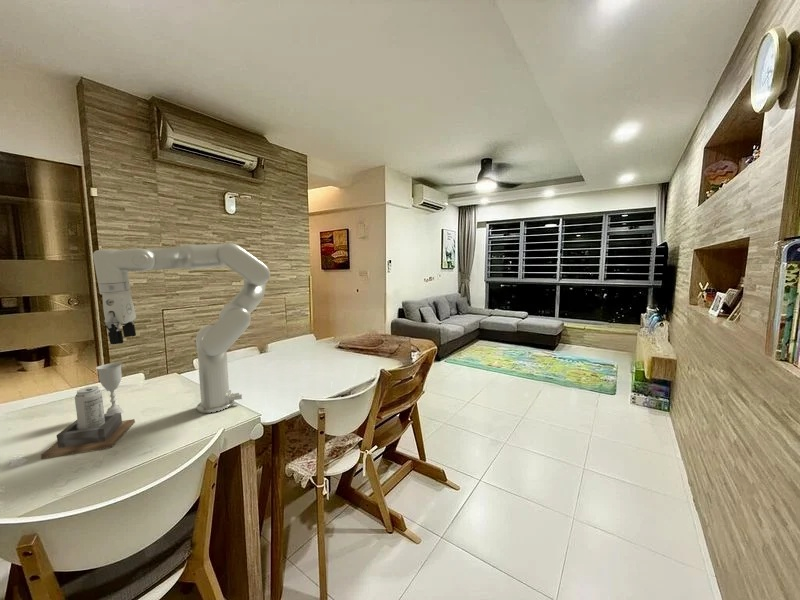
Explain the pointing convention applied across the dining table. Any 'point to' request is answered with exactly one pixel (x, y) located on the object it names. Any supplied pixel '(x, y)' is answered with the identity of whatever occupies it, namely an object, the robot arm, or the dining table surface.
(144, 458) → the dining table surface
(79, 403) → the energy drink can
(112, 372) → the chalice
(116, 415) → the socket block
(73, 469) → the dining table surface
